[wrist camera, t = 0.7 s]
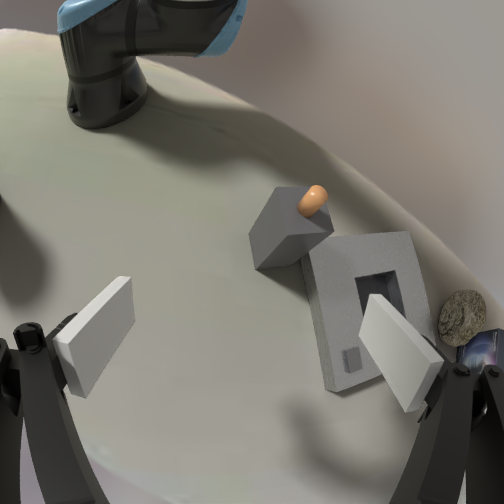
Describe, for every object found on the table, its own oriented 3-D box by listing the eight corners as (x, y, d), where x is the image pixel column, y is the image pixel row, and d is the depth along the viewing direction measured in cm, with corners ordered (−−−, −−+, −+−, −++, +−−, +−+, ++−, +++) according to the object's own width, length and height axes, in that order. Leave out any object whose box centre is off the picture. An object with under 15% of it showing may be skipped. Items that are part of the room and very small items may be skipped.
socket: (297, 246, 39) (307, 237, 35) (398, 237, 44) (411, 229, 41) (325, 389, 33) (338, 392, 30) (423, 348, 38) (438, 347, 35)
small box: (457, 334, 41) (499, 326, 32) (472, 338, 42) (511, 330, 33) (450, 388, 37) (493, 387, 28) (466, 388, 38) (506, 386, 29)
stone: (426, 337, 39) (471, 329, 30) (440, 291, 43) (480, 277, 34) (443, 352, 39) (486, 347, 30) (456, 308, 43) (495, 297, 34)
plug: (248, 233, 38) (286, 169, 24) (283, 230, 39) (334, 171, 25) (255, 269, 36) (300, 221, 22) (290, 265, 38) (350, 218, 24)
